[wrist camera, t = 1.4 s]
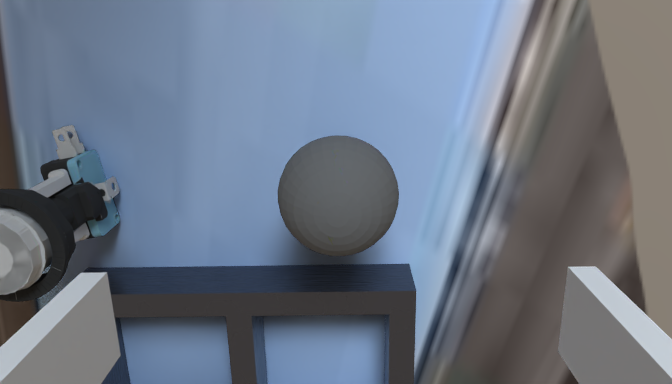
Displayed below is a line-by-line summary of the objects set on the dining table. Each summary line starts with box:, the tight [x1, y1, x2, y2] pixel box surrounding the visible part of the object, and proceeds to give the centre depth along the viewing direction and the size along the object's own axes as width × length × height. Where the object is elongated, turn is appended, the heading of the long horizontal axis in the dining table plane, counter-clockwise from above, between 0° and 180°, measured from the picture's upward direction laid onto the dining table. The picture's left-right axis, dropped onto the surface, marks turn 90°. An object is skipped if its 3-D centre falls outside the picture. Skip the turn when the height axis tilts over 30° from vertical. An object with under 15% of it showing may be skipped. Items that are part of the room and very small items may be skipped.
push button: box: [0, 125, 120, 302], centre depth 27 cm, size 7×5×10 cm
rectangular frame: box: [83, 264, 416, 384], centre depth 34 cm, size 11×20×4 cm, turn 91°
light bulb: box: [278, 136, 399, 256], centre depth 27 cm, size 6×6×10 cm
